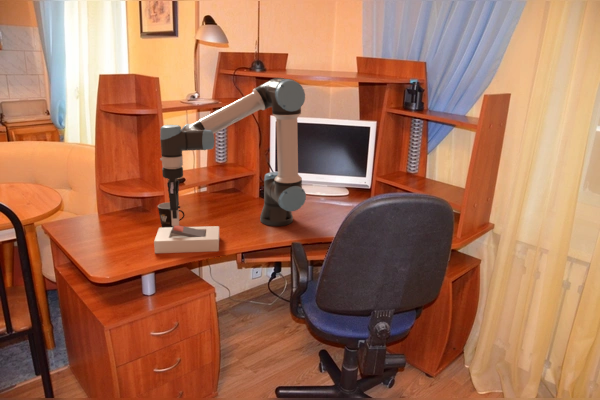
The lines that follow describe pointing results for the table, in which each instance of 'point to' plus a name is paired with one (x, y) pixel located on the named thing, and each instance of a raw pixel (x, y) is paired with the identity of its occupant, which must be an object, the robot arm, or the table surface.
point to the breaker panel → (186, 241)
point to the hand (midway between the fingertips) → (175, 225)
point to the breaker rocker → (187, 231)
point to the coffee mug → (166, 215)
